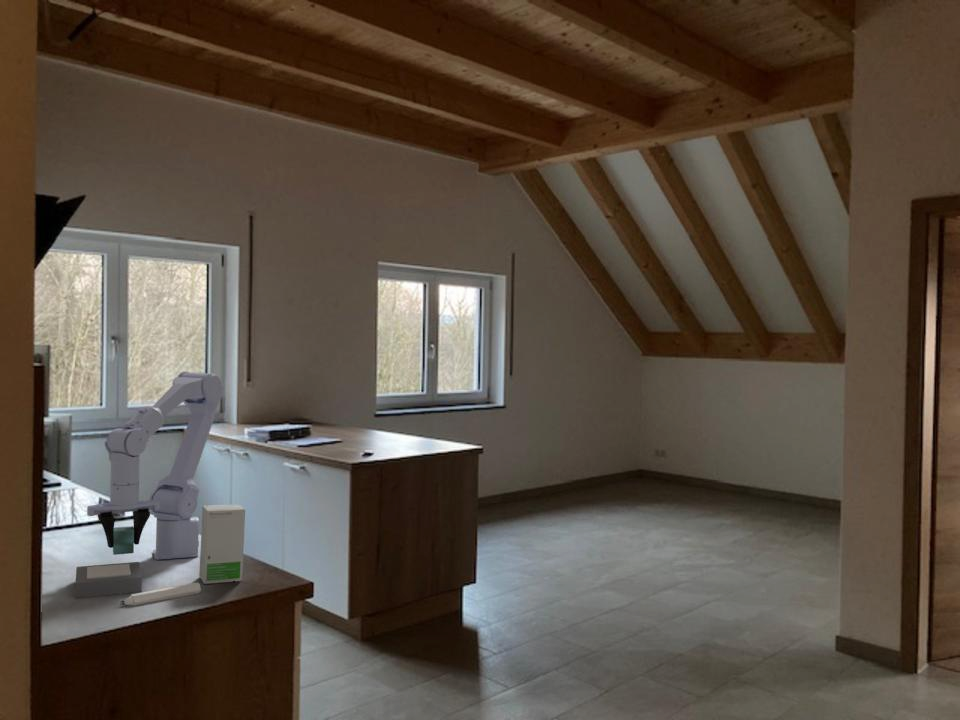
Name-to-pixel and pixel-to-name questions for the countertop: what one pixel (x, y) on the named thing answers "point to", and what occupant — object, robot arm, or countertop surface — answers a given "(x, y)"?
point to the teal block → (123, 540)
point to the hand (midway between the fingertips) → (123, 545)
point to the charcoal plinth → (108, 579)
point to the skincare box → (222, 543)
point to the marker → (162, 594)
